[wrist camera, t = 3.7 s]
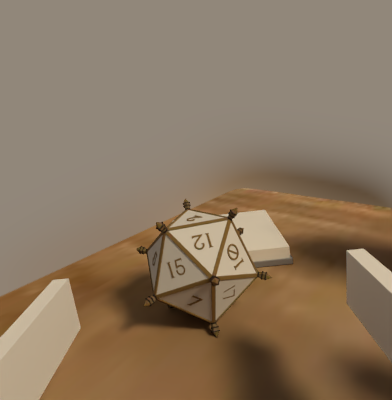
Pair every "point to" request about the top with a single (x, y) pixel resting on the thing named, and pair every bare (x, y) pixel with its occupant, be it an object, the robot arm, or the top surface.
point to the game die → (200, 264)
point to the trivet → (262, 239)
